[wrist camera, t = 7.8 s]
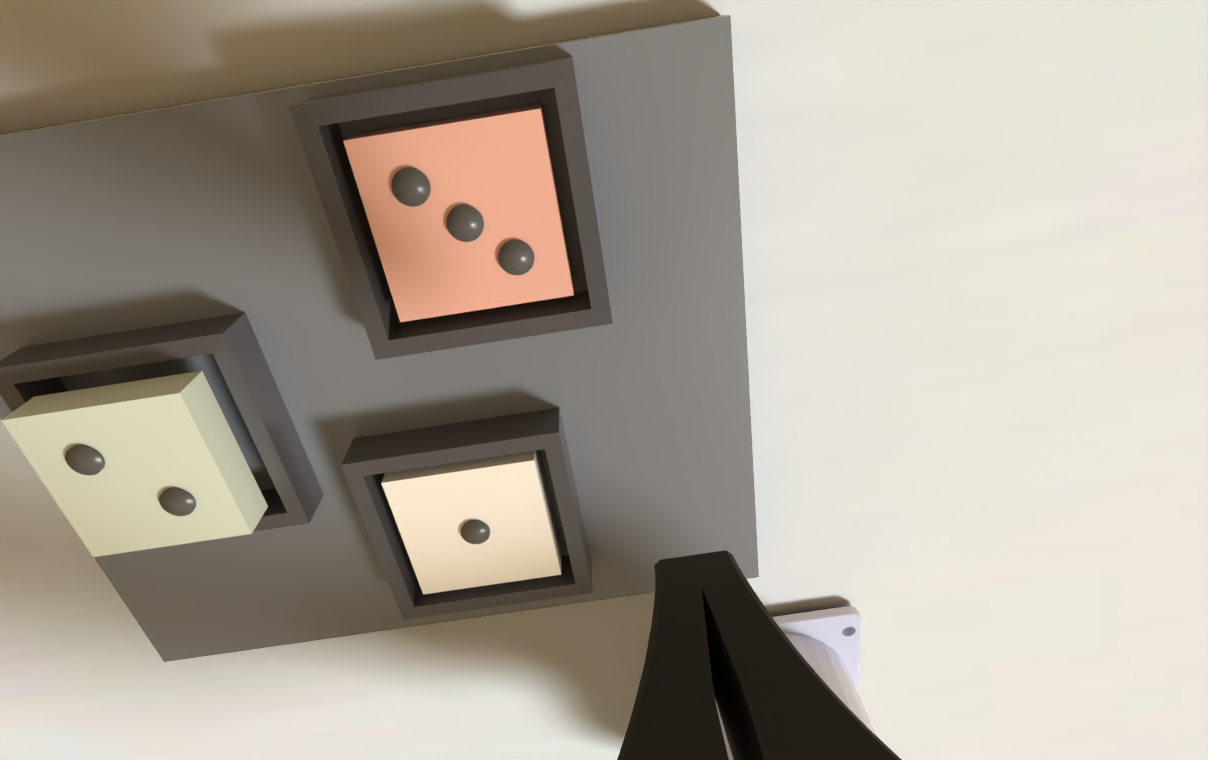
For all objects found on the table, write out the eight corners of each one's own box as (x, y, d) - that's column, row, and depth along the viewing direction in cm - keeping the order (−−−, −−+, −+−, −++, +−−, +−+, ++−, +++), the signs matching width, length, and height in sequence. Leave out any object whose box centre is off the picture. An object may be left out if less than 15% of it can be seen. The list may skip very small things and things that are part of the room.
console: (752, 557, 25) (768, 606, 23) (177, 639, 26) (143, 695, 24) (722, 15, 17) (743, 16, 15) (-133, 156, 18) (-229, 176, 15)
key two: (268, 506, 20) (249, 536, 19) (117, 528, 20) (90, 559, 19) (201, 370, 18) (177, 394, 17) (33, 396, 18) (-2, 422, 17)
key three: (573, 279, 19) (573, 296, 18) (409, 305, 19) (399, 323, 18) (542, 102, 17) (540, 108, 16) (356, 132, 17) (342, 141, 16)
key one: (561, 549, 23) (561, 576, 22) (429, 568, 24) (422, 596, 22) (535, 437, 21) (534, 462, 20) (390, 459, 21) (380, 485, 20)
